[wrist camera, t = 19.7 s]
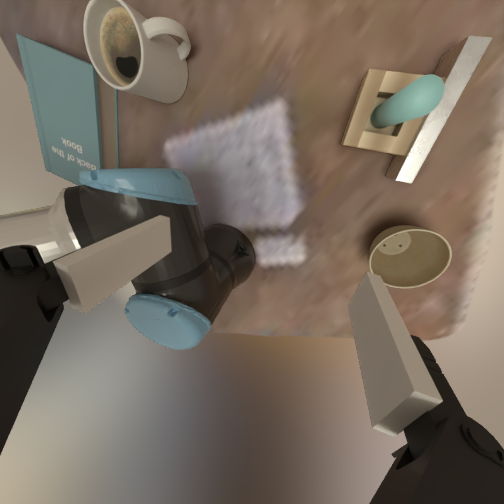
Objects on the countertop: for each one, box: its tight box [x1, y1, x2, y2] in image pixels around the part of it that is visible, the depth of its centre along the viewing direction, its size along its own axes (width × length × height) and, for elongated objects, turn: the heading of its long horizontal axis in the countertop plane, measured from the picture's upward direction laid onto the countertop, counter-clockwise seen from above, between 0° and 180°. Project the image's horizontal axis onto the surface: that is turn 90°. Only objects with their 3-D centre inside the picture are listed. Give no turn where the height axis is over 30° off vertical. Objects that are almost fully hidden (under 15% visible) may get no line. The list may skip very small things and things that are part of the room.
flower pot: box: [369, 225, 452, 288], centre depth 32 cm, size 10×10×7 cm
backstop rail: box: [385, 36, 492, 183], centre depth 25 cm, size 2×14×5 cm, turn 171°
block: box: [340, 69, 444, 156], centre depth 26 cm, size 8×8×4 cm
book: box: [16, 34, 119, 186], centre depth 40 cm, size 23×16×5 cm
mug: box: [84, 0, 191, 104], centre depth 29 cm, size 11×10×10 cm
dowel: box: [370, 74, 444, 129], centre depth 22 cm, size 3×3×12 cm
